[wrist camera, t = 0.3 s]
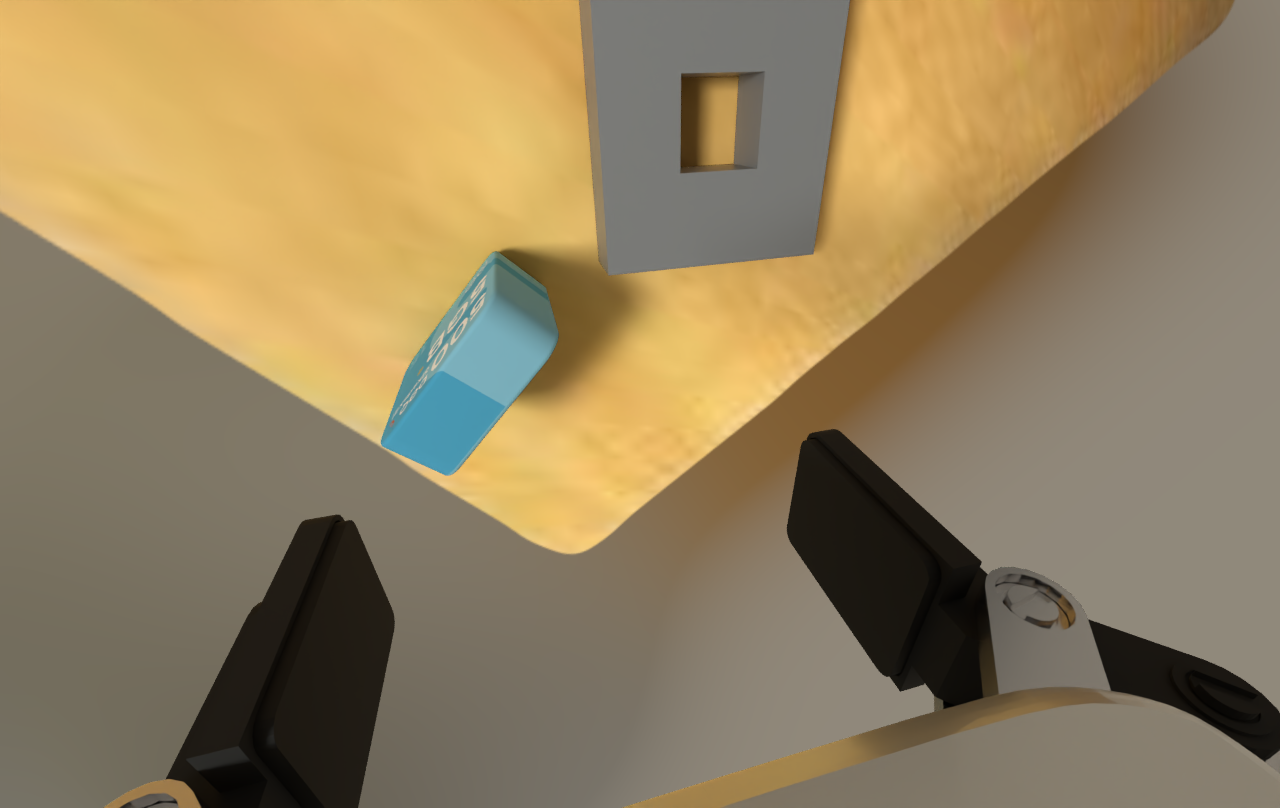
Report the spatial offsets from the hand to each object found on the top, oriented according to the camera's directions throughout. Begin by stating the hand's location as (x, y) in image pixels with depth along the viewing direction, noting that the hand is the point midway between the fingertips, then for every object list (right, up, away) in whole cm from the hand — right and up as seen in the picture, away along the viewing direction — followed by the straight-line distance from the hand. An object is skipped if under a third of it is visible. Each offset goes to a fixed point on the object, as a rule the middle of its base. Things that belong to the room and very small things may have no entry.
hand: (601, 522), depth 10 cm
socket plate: (+5, +22, +24) cm, 34 cm away
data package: (-12, +9, +28) cm, 32 cm away
